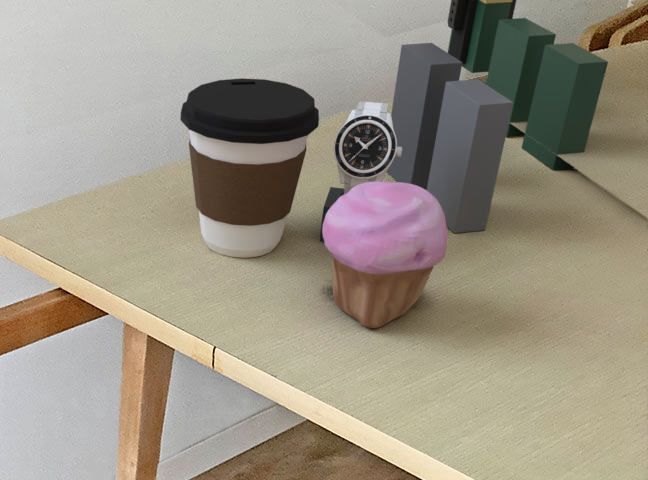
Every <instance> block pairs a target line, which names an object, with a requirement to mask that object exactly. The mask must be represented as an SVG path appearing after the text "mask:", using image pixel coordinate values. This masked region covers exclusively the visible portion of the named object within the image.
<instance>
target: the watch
mask: <svg viewBox="0 0 648 480" xmlns="http://www.w3.org/2000/svg"><path fill="white" fill-rule="evenodd" d="M388 111H389V103H384V102H373V101H364V100H360V101H359V103H358V104H357V107H356V109H352V110H351V112H350V114H349V115H348V117H347V119H346V121H345V122H344V124H342V126H341V127H340V129H339V130H338V132H337V133H336V136H335V139H334V143H333V155H334V159H335V161H336V166H337V170H338V171H337V172H338V176H339V177H338V178H339V183H340V185H343V188H342V187H334V186H330V188H329V190H328V193H327V196H326V199H325V202H324V204H323V208H322V216H321V217H322V218H321V224H320V233H319V234H320V235H319V242H320V243H324V238H323V233H322V229H323V223H324V220H325V216H326V213H327V212H328V210H329V209H330V207H331V206H332V205H333V204H334V203H335V202H336V201H337V200H338V198H339V197H341V196H342V195H344V194H346V193H348V192H349V191H350V190H351V189H352V188H353V187H355V186H357V185H359V184H362V183H367V182H383V181H384V178H385V176H386V174H387V170H388V169H389V167H390V165H391V163H392V162H393V159H394V157H395V156H396V157H401V153H402V147H398V146H397V140H396V135H395V132H394V129H393V123H392V117H391V113H389V112H388Z"/></svg>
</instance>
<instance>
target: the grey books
mask: <svg viewBox="0 0 648 480" xmlns="http://www.w3.org/2000/svg"><path fill="white" fill-rule="evenodd" d="M462 68H463V67H462V62H461V61H459V60H458V59H456V58H455V57H453V56H452V55H450V54H448V51H445V50H444V49H442V48H440V47H439V46H438V45H436V44H435V43H433V42H423V43H421V42H420V43H407V44H406V43H405V44H401V47H400V54H399V61H398V67H397V72H396V73H397V74H396V80H395V86H394V94H393V99H392V100H393V101H392V106H391V113H390V114H391V117H392V123H393V129H394V132H395V135H396V140H397V146H398V147H402V153H401V157H396V156H395V157H394V159H393V162H392V163H391V165H390V167H389V169H388V170H387V172H386V174H388V175H389V176H390V177H392V178H393V179H394V181H396V183H397V182H401V183H408V184H413V185H416V186H419V187H421V188H423V189H425V190H427V191H428V192H429V193H431V194H432V195H433V196H434V197H435V198H436V199H437V200H438V202H439V204H440V206H441V208H442V210H443V212H444V215H445V220H446V227H447V229H448V230H449V231H451V232H452V233H453V234H461V233H472V232H481V231H486V228H487V224H488V220H489V215H490V210H491V207H492V202H493V196H494V192H495V187H496V184H497V183H496V182H497V178H498V174H499V171H500V170H499V169H500V165H501V159H502V155H503V151H504V147H505V142H506V138H507V137H506V133H507V129H508V124H509V119H510V115H511V110H512V106H513V102H512V101H510V100H509V99H507V98H506V97H504V96H503V95H501V94H500V93H498V92H497V91H495V90H494V89H492V88H490V87H489V86H487V85H486V83H485V82H483V81H482V80H479V78H478V79H463V80H460V77H461V73H462Z"/></svg>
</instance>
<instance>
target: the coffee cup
mask: <svg viewBox="0 0 648 480" xmlns="http://www.w3.org/2000/svg"><path fill="white" fill-rule="evenodd" d="M315 102H316V101H315V98H314V97H313V96H312V95H310V94H309V92H307V91H306V90H304V89H303V88H300V87H298V86H295V85H292V84H289V83H286V82H281V81H275V80H269V79H263V78H262V79H261V78H241V77H240V78H230V79H229V78H228V79H218V80H213V81H210V82H206V83H202V84H200V85H199V86H197V87H195V88H193V89H192V90H190V91H189V92H188V93H187V98H186V101H184V102H183V103H182V106H181V110H180V118H179V119H180V121H181V123H182V124H183V125H184V126H185V127H186V128H187V129H188V130H189V132H188V133H189V142H188V148H189V157H190V167H191V174H192V175H191V176H192V183H193V193H194V201H195V207H196V209H197V210H198V214H199V215H198V216H199V225H200V234H201V236H202V238H203V240H204V243H205V244H206V246H207V247H208V248H209V249H210V250H212V251H213V252H215V253H217V254H219V255H223V256H226V257H230V258H241V259H242V258H245V259H248V258H257V257H261V256H264V255H267V254H270V253H271V252H272V251H273V250H275V248H276V247H277V246H278V244H279V243H280V241H281V240H282V237H283V233H284V229H285V225H286V222H287V221H286V220H287V217H288V215H289V214H290V213H291V210H292V206H293V203H294V198H295V196H296V191H297V188H298V183H299V180H300V175H301V172H302V168H303V165H304V160H305V158H306V153H307V141H308V138H309V135H310V134H311V133H313V132H314V131H315V130H316V129H318V128H319V123H320V113H319V109H318V108H317V107H316V103H315Z"/></svg>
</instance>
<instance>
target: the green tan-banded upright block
mask: <svg viewBox="0 0 648 480" xmlns="http://www.w3.org/2000/svg"><path fill="white" fill-rule="evenodd" d="M511 2H512V0H478V1H477V6H476V11H475V16H474V22H473V27H472V32H471V37H470V42H469V48H468V53H467V58H466V63H465V64H462V67H461V68H464V69H465V70H466V71H468V72H470V73H471V74H475V73H479V74H480V73H488V71H489V67H490V62H491V57H492V52H493V47H494V42H495V37H496V32H497V27H498V22H499V20H501V19H508V16H509V11H510V6H511ZM452 31H453V29H451V31H450V36H449V42H448V47H447V53H449V47H450V42H451V36H452Z"/></svg>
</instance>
